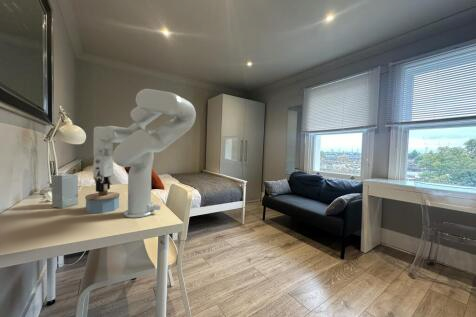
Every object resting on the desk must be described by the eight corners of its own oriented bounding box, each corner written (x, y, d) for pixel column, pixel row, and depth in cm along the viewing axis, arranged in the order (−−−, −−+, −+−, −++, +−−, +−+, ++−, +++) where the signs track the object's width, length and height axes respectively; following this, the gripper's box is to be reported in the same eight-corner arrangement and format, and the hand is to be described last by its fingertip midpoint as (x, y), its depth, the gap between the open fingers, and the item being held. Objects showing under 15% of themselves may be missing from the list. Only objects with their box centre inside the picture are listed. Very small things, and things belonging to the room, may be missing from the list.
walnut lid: (124, 194, 103) (124, 182, 103) (111, 200, 90) (111, 187, 90) (95, 194, 102) (95, 182, 101) (78, 200, 88) (78, 187, 88)
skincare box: (62, 208, 96) (62, 175, 95) (50, 207, 97) (50, 175, 96) (79, 204, 104) (79, 173, 103) (68, 202, 105) (68, 173, 105)
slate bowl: (121, 205, 103) (121, 194, 103) (110, 212, 91) (110, 199, 91) (95, 206, 101) (95, 194, 101) (81, 213, 89) (81, 200, 89)
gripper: (102, 153, 87) (102, 194, 88) (119, 152, 104) (119, 187, 105) (83, 152, 86) (83, 194, 87) (103, 152, 103) (103, 187, 104)
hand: (103, 190), depth 96 cm, fingers open, 5 cm apart
